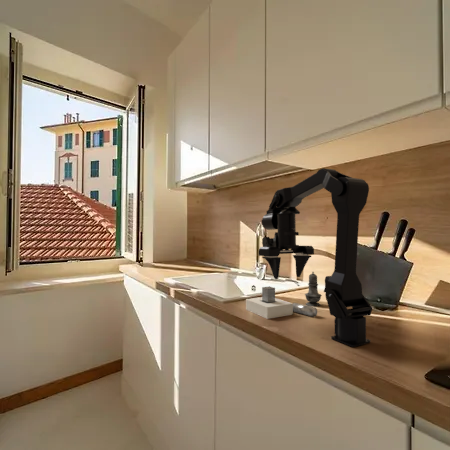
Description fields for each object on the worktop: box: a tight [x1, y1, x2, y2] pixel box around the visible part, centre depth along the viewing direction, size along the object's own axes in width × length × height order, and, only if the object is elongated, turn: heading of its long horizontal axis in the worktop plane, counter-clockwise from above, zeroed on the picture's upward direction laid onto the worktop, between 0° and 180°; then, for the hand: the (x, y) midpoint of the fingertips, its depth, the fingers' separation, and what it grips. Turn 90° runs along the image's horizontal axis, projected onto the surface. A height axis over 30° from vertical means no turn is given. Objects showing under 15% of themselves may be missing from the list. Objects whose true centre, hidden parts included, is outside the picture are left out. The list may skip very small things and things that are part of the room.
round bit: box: [292, 302, 318, 318], centre depth 95 cm, size 8×3×3 cm, turn 38°
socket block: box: [245, 296, 294, 320], centre depth 97 cm, size 12×10×4 cm
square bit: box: [261, 286, 276, 303], centre depth 97 cm, size 3×3×8 cm
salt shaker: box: [304, 271, 322, 308], centre depth 107 cm, size 6×6×12 cm
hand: (287, 278), depth 94 cm, fingers open, 9 cm apart
